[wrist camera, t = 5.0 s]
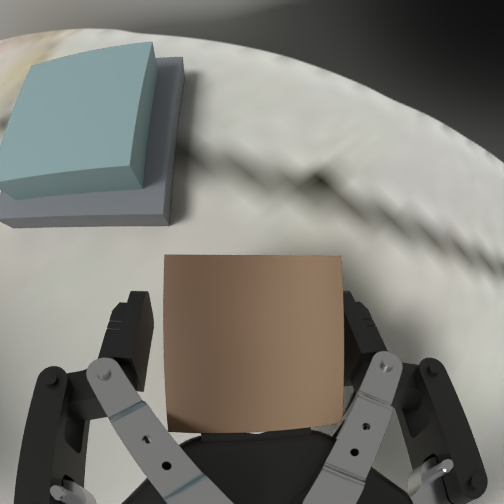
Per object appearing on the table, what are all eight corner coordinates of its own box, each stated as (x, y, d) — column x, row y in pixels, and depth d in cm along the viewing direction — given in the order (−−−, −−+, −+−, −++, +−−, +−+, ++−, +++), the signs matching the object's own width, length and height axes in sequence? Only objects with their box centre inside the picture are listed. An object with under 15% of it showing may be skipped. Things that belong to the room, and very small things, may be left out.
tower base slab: (185, 82, 22) (182, 56, 19) (170, 228, 19) (163, 214, 16) (52, 96, 20) (39, 76, 17) (17, 230, 18) (-5, 219, 15)
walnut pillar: (277, 285, 19) (341, 256, 9) (278, 368, 18) (342, 422, 8) (192, 285, 18) (164, 254, 8) (193, 370, 17) (168, 431, 7)
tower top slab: (158, 71, 18) (152, 41, 15) (142, 189, 16) (129, 165, 14) (46, 89, 17) (31, 65, 14) (16, 200, 15) (-10, 183, 12)
